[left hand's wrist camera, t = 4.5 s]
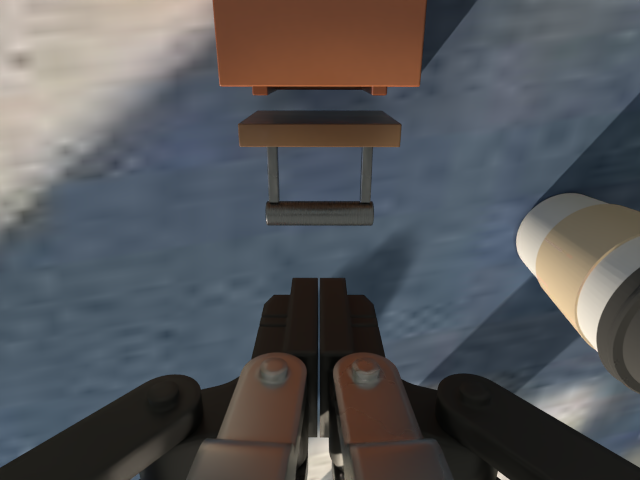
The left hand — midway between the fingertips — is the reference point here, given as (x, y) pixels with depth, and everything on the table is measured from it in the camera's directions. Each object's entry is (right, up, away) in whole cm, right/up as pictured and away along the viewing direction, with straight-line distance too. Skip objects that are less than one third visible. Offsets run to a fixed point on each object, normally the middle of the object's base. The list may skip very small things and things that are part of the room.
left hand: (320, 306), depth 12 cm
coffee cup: (+19, +2, +22) cm, 29 cm away
